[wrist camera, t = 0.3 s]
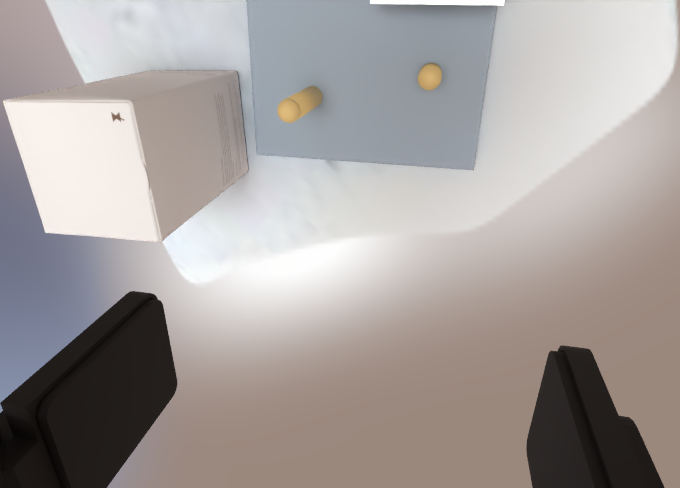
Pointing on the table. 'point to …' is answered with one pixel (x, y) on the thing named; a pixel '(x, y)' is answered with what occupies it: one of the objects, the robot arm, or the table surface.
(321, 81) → the assembly board
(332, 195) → the table surface
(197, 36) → the table surface
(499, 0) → the housing cover
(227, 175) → the supplement box
